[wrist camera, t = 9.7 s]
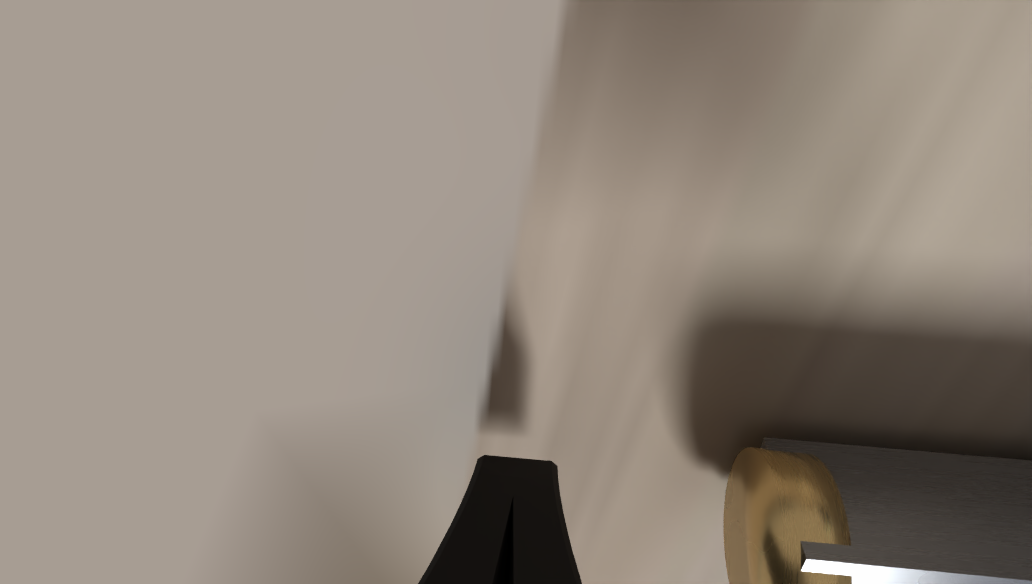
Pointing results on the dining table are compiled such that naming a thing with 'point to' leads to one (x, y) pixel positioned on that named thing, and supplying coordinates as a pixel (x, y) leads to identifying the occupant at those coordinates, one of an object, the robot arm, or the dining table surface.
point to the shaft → (876, 516)
